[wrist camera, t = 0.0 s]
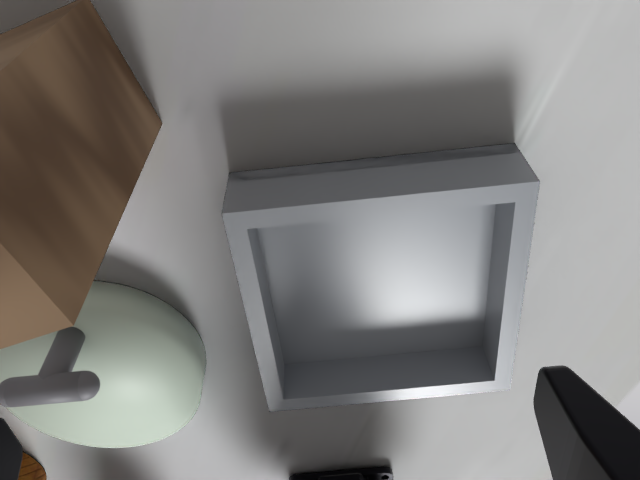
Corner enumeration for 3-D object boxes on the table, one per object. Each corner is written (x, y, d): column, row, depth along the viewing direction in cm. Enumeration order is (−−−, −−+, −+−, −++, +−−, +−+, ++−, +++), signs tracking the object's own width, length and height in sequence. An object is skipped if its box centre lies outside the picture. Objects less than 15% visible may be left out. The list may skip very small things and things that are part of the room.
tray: (493, 344, 30) (510, 390, 28) (271, 364, 31) (269, 411, 28) (514, 143, 23) (540, 181, 21) (229, 172, 24) (221, 213, 21)
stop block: (162, 123, 22) (73, 325, 14) (52, 165, 23) (-98, 380, 15) (87, -5, 20) (-87, 145, 11) (-35, 49, 21) (-286, 228, 12)
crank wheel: (223, 408, 33) (211, 504, 28) (48, 424, 33) (9, 521, 28) (180, 271, 27) (156, 364, 22) (-32, 292, 27) (-98, 387, 23)
